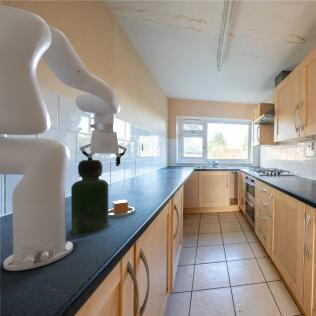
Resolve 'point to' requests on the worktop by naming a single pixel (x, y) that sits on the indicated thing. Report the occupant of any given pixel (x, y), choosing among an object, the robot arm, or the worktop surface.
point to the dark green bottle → (89, 199)
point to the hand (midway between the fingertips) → (104, 166)
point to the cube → (120, 207)
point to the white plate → (111, 214)
